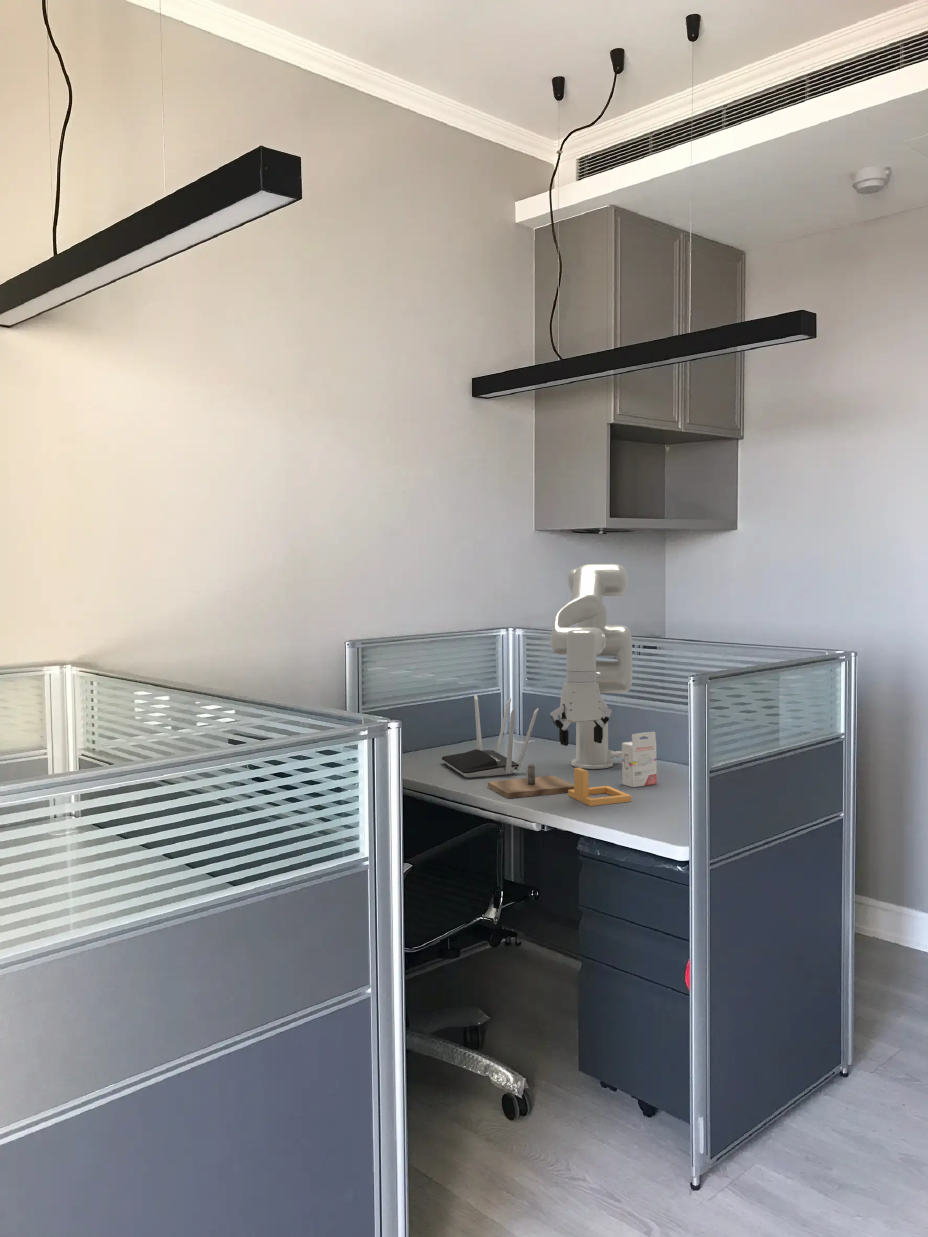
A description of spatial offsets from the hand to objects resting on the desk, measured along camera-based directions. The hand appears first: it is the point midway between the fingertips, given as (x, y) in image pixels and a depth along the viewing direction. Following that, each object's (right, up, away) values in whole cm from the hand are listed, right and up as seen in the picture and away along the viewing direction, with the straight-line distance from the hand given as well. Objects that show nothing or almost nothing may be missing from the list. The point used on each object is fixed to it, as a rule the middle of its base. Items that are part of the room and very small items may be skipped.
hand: (581, 743), depth 253 cm
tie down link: (+5, -15, +3) cm, 16 cm away
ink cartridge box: (+18, -14, +19) cm, 30 cm away
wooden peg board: (-12, -14, +14) cm, 23 cm away
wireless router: (-23, -13, +41) cm, 48 cm away
